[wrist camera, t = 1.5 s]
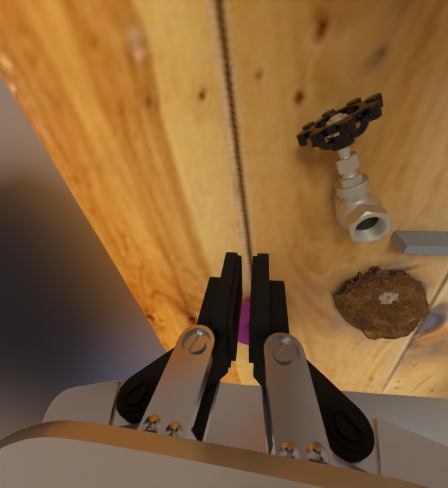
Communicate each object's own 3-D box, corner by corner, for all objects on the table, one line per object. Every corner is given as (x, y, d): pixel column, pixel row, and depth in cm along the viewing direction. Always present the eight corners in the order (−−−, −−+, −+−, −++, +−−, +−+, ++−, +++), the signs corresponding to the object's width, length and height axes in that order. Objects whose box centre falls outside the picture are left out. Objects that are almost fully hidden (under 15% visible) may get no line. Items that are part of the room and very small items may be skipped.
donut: (292, 318, 40) (295, 342, 37) (249, 333, 45) (248, 355, 42) (258, 286, 36) (258, 309, 33) (216, 306, 41) (211, 328, 38)
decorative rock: (430, 312, 35) (398, 249, 29) (449, 335, 31) (416, 268, 26) (357, 333, 40) (318, 283, 34) (367, 355, 36) (325, 302, 31)
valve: (383, 202, 25) (365, 91, 19) (415, 234, 20) (402, 94, 14) (323, 222, 28) (292, 129, 22) (337, 255, 22) (301, 144, 17)
